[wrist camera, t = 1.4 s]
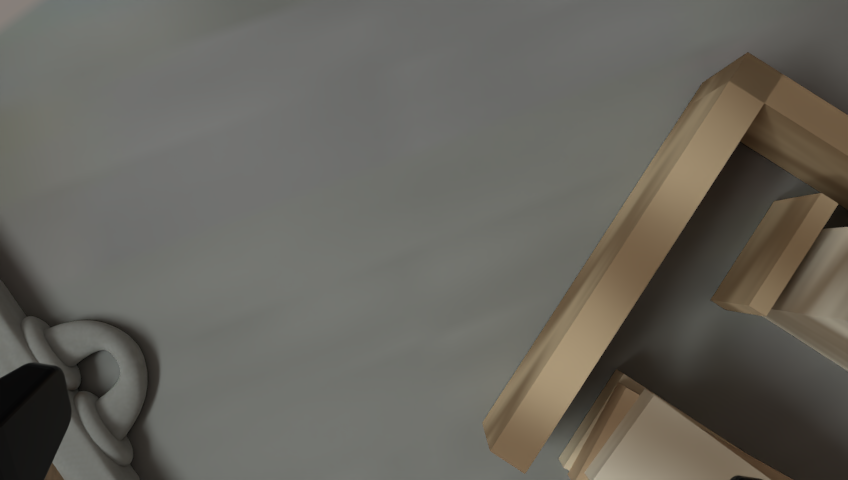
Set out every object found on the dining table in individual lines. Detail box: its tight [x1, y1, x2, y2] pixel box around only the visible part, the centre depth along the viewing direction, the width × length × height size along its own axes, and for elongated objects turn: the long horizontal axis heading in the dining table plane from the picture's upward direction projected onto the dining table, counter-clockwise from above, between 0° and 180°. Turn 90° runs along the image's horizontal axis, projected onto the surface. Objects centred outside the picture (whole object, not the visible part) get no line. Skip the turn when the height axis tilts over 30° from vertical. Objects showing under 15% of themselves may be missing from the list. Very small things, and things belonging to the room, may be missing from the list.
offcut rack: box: [482, 53, 848, 480], centre depth 22 cm, size 14×16×4 cm
